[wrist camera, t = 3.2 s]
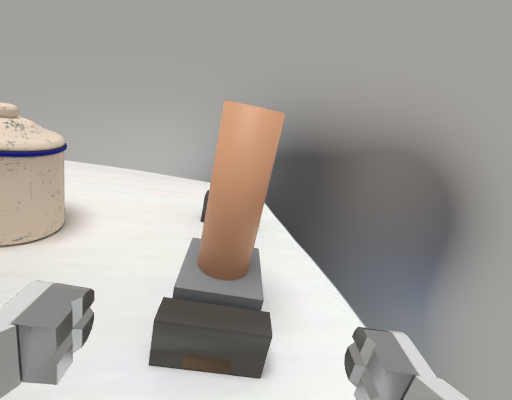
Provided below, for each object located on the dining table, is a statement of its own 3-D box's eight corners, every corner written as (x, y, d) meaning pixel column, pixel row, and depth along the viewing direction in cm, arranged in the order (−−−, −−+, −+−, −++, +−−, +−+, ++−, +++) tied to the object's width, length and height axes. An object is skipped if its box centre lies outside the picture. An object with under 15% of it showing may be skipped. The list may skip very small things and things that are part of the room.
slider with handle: (251, 342, 20) (311, 120, 15) (167, 331, 20) (200, 95, 14) (250, 283, 27) (291, 114, 22) (187, 273, 26) (214, 97, 21)
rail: (259, 378, 18) (272, 336, 17) (148, 364, 17) (154, 320, 16) (251, 221, 41) (256, 199, 40) (203, 212, 40) (207, 190, 39)
